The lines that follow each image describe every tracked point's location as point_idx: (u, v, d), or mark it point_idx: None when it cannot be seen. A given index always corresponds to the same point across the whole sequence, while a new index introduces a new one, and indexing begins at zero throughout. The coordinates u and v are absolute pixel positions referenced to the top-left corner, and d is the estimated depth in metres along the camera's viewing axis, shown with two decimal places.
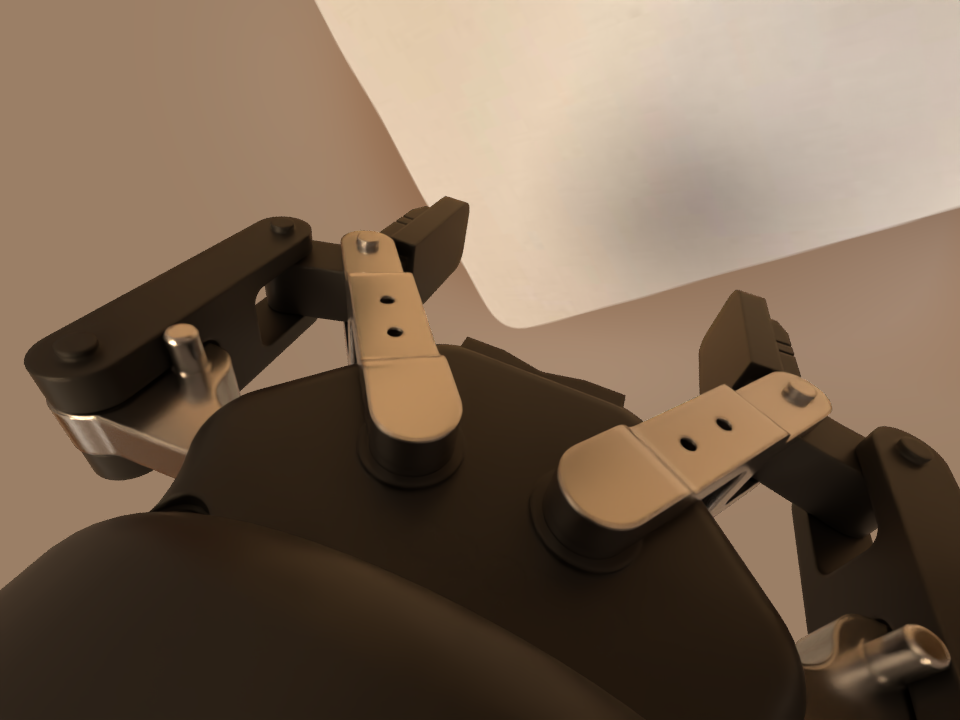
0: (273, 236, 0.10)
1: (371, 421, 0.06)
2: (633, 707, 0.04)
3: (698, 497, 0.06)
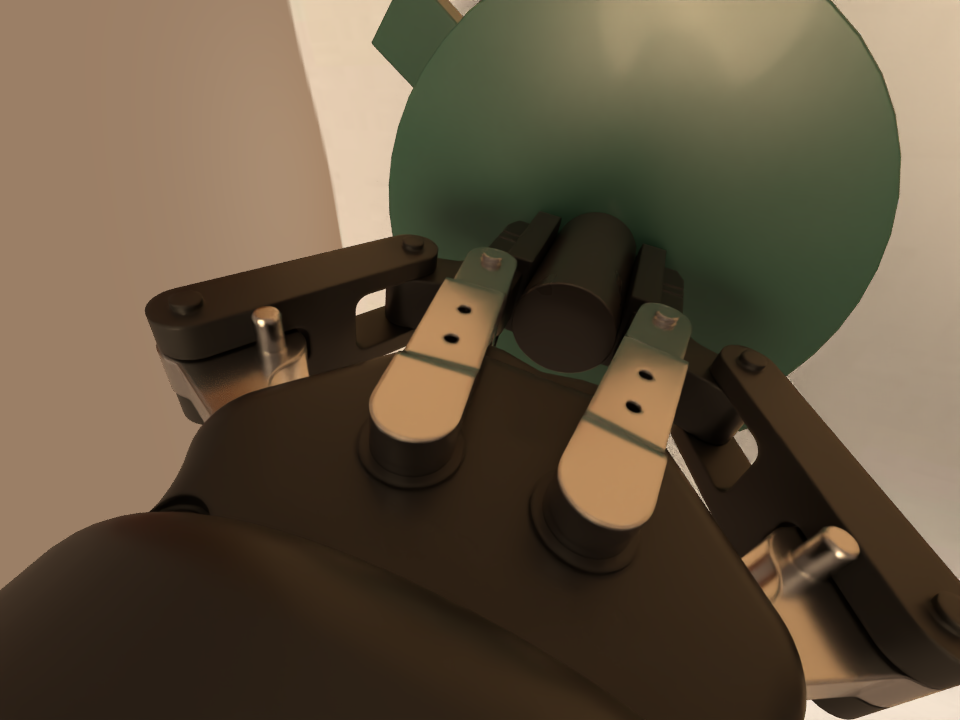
0: (400, 251, 0.10)
1: (370, 403, 0.06)
2: (633, 707, 0.04)
3: None
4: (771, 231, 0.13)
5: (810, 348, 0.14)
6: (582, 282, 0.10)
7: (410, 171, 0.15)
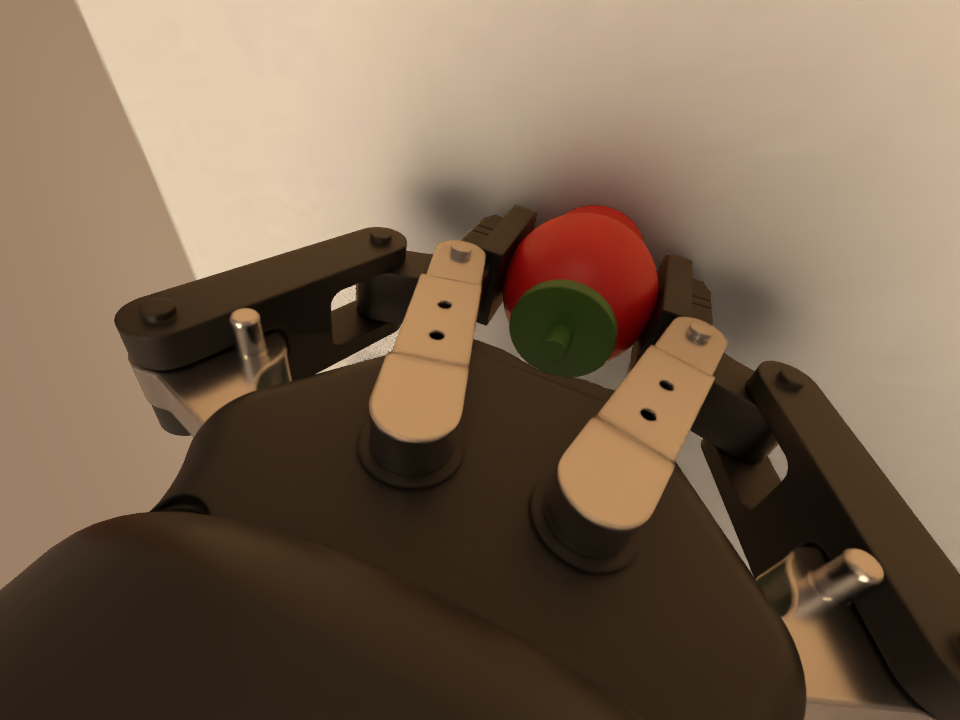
0: (369, 245, 0.10)
1: (369, 408, 0.06)
2: (633, 707, 0.04)
3: None
4: None
5: None
6: None
7: None
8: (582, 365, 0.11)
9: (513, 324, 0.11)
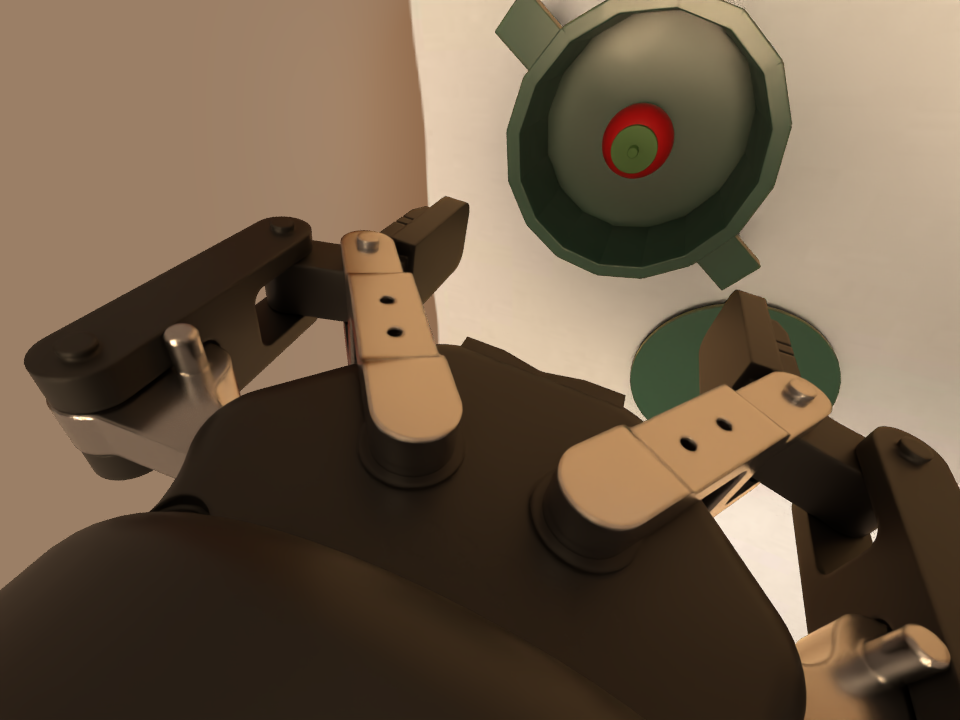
0: (273, 236, 0.10)
1: (371, 421, 0.06)
2: (633, 707, 0.04)
3: (698, 497, 0.06)
4: None
5: None
6: None
7: (649, 352, 0.38)
8: (642, 165, 0.26)
9: (612, 148, 0.26)
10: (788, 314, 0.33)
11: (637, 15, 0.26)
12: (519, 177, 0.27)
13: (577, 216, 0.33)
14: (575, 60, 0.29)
